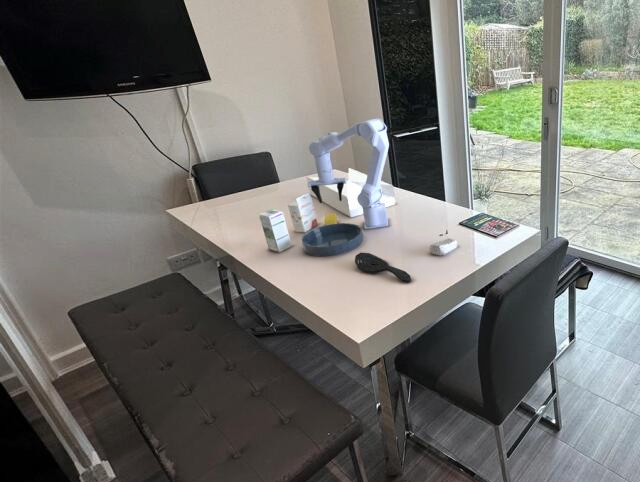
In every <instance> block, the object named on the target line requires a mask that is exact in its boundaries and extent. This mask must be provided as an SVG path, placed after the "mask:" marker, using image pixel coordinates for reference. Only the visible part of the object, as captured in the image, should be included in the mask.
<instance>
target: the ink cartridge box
mask: <svg viewBox="0 0 640 482" xmlns="http://www.w3.org/2000/svg"><path fill="white" fill-rule="evenodd" d="M287 207H288V210H289V215H290V218H291V222H292V226H293V229H294V232H295V233H307V232H309V231H310V230H312V229H314V227H316V226H317V225H318V219H317V216H316V215H317V214H316V211H315V207H314V202H313V198H312V195H311V194H310V191H308V192H306V193H304V194H302V195H300V196H298V197H296V198H295V201H294V202H292V203H290V204H288V205H287Z"/></svg>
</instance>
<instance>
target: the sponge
mask: <svg viewBox="0 0 640 482" xmlns="http://www.w3.org/2000/svg"><path fill="white" fill-rule="evenodd" d="M323 222H324V226H325V225H330V224H337V223H338V218H337V214H336V212H335V213H327V214H325V215H324V221H323Z"/></svg>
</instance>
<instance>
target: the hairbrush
mask: <svg viewBox="0 0 640 482" xmlns="http://www.w3.org/2000/svg"><path fill="white" fill-rule="evenodd" d="M354 263H355V265H356V266H357V269H359V270H360V271H362V272H364V273H366V274H377V273H378V274H379V273H382V272H389V273H391V274H393V275H394V276H395V277H396V279H398V280H401V281H402V282H404V283H411V282H412V277H411V275H410V274H409V273H408V272H406V271H405V270H403V269H401V268H397V267H395V266H392V265H389V263H388V262H387V261H386V260H384V259H383V258H382V257H380V256H378V255H375V254H373V253H371V252H366V251H364V252H358V253H357V252H356V253H355V256H354Z"/></svg>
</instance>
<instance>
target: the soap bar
mask: <svg viewBox="0 0 640 482" xmlns="http://www.w3.org/2000/svg"><path fill="white" fill-rule="evenodd" d="M457 248H458V241H457V240H456V239H453V238H449V237H448V238H445V239H443V240H440V241H436V242H435V243H433V244H430V245H429V251H430V254H432V255H436V256H445V255H447V254H448V253H450V252H452V251H453V250H455V249H457Z"/></svg>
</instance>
